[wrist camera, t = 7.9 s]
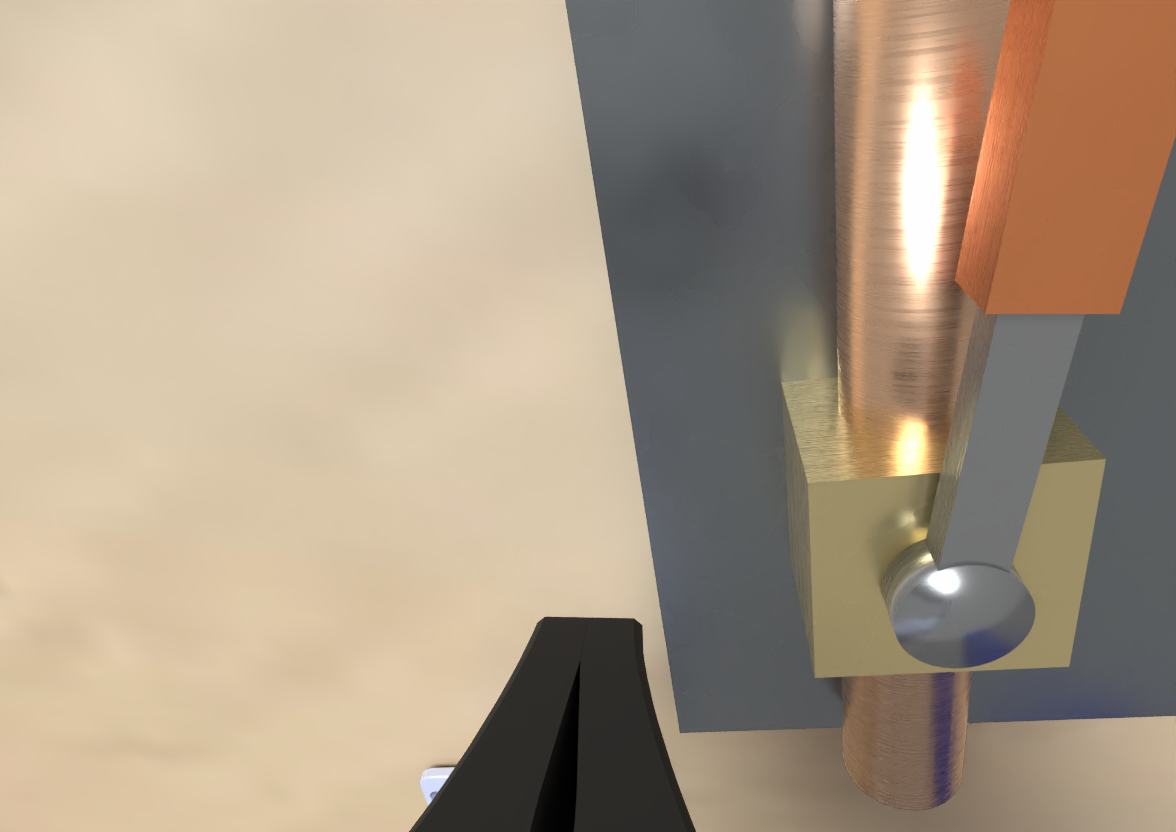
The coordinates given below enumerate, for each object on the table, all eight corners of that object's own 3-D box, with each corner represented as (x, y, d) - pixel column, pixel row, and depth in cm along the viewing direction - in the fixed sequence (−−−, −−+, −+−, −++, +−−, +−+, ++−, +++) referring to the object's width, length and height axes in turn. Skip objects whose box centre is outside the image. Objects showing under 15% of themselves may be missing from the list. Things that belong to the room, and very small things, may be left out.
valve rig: (1254, 689, 22) (1389, 856, 18) (679, 711, 25) (681, 863, 20) (1611, -363, 12) (2132, -544, 8) (549, -138, 14) (499, -180, 10)
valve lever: (995, 624, 16) (1021, 679, 15) (871, 620, 16) (887, 674, 15) (1207, -107, 10) (1283, -116, 9) (1004, -97, 10) (1051, -105, 9)
